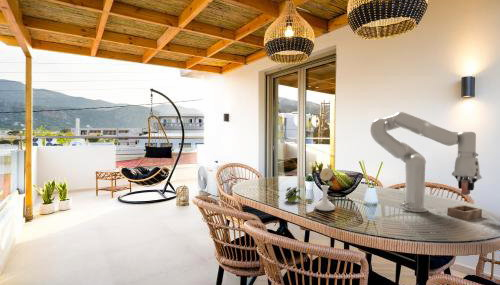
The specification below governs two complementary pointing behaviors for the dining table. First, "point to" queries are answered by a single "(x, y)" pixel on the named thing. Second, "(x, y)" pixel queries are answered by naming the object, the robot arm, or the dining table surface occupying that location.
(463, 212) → the lighter dock
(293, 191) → the green leafy plant
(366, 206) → the dining table surface
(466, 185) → the lighter
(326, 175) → the flower in vase
